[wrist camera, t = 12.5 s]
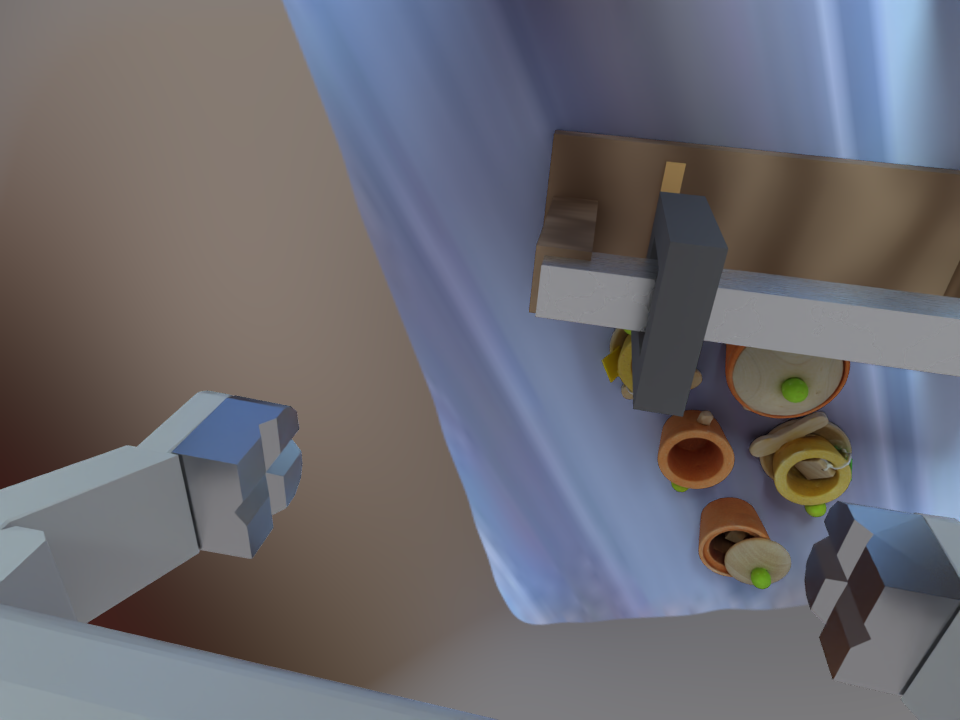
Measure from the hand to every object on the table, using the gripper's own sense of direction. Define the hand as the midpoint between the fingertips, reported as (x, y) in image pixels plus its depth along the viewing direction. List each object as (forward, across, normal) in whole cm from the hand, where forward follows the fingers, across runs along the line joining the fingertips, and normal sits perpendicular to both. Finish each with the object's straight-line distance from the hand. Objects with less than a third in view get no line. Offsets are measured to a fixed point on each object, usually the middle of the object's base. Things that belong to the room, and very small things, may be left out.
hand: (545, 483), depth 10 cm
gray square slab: (+30, -5, +7) cm, 31 cm away
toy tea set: (+38, -14, +22) cm, 46 cm away
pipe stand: (+37, -12, +7) cm, 40 cm away
